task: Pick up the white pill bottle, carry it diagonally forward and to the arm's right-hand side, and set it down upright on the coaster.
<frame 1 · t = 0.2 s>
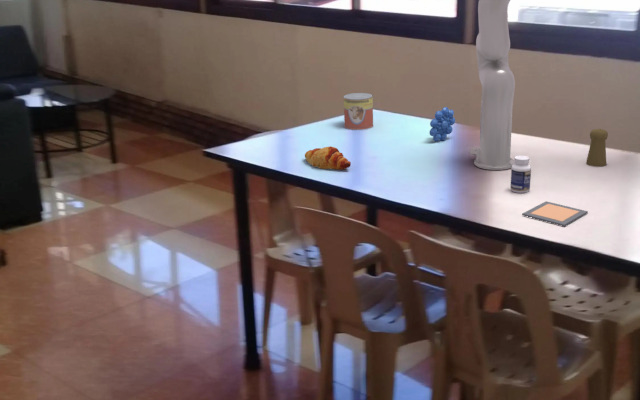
croissant: (327, 166, 242), on the table
pill bottle: (520, 190, 212), on the table
cork: (596, 164, 232), on the table
canned food: (358, 126, 288), on the table
coaster: (554, 214, 193), on the table
grapes: (440, 140, 265), on the table
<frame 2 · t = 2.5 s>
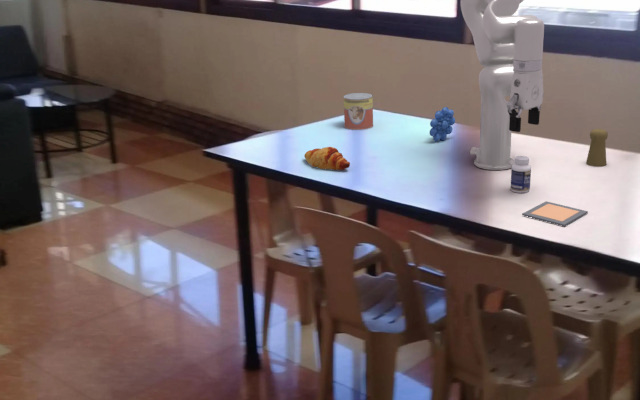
hand: (524, 127, 205), 18 cm above the table, tool pointing down, fingers open, 9 cm apart
nothing on the table moved.
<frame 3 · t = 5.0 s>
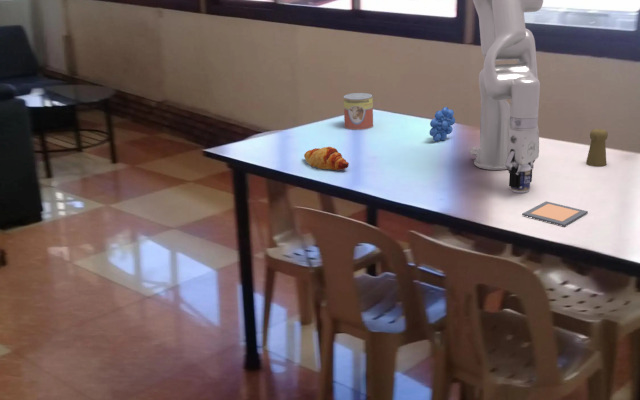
hand: (520, 183, 211), 2 cm above the table, tool pointing down, fingers closed on pill bottle, 5 cm apart
pill bottle: (520, 190, 212), on the table, touching gripper
everything else where it was.
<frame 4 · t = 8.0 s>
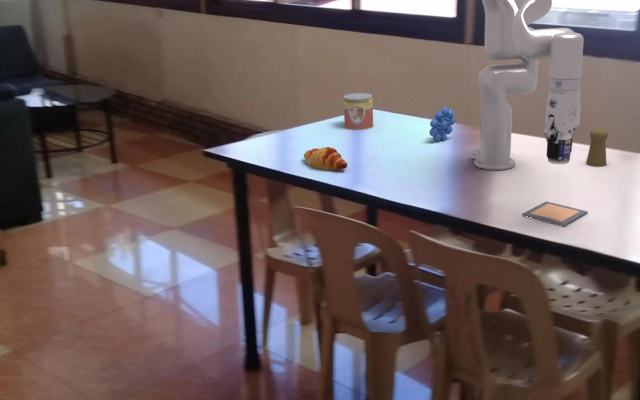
hand: (559, 154, 187), 16 cm above the table, tool pointing down, fingers closed on pill bottle, 5 cm apart
pill bottle: (558, 162, 188), point 14 cm above the table, touching gripper
everything else where it was.
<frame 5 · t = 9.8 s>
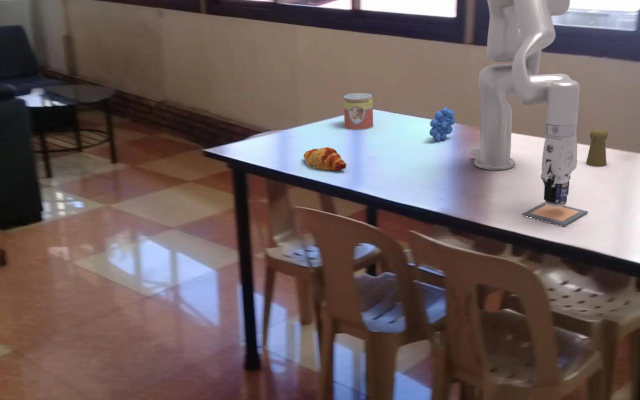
hand: (556, 196, 191), 5 cm above the table, tool pointing down, fingers closed on pill bottle, 5 cm apart
pill bottle: (555, 204, 192), point 3 cm above the table, touching gripper
when the fingers open (3 cm above the table, at t = 11.0 s): pill bottle stays where it is, resting on coaster.
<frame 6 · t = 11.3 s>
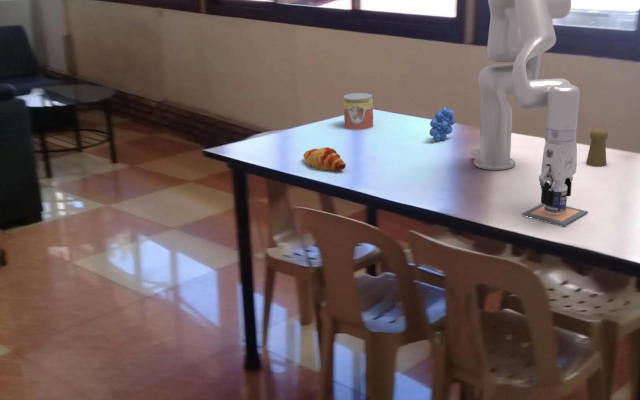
hand: (555, 199, 192), 4 cm above the table, tool pointing down, fingers open, 8 cm apart
pill bottle: (554, 212, 193), resting on coaster
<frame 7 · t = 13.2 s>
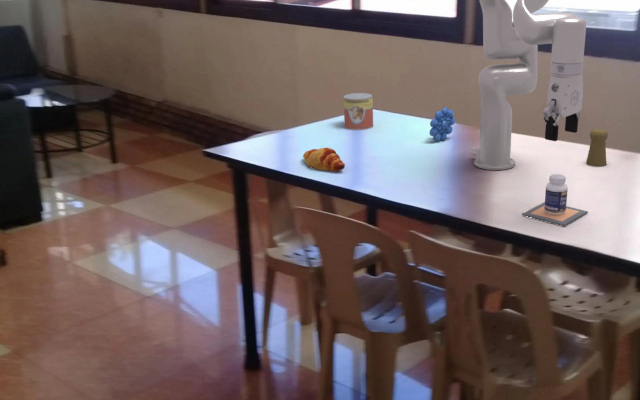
hand: (561, 135, 188), 21 cm above the table, tool pointing down, fingers open, 9 cm apart
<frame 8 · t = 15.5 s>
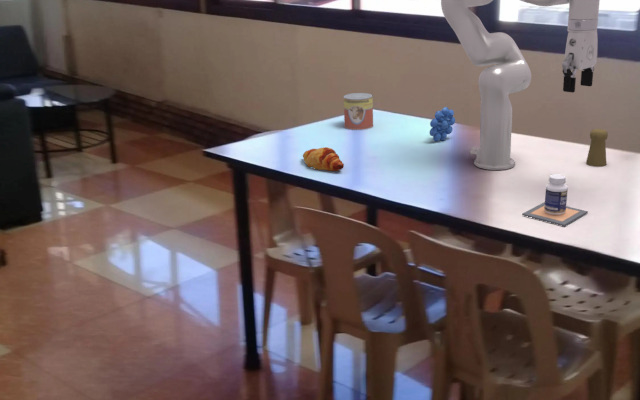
hand: (577, 88, 204), 28 cm above the table, tool pointing down, fingers open, 9 cm apart
at the end: pill bottle 0.3 cm from the coaster (horizontally); pill bottle tilted 0°; the gripper is holding nothing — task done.
